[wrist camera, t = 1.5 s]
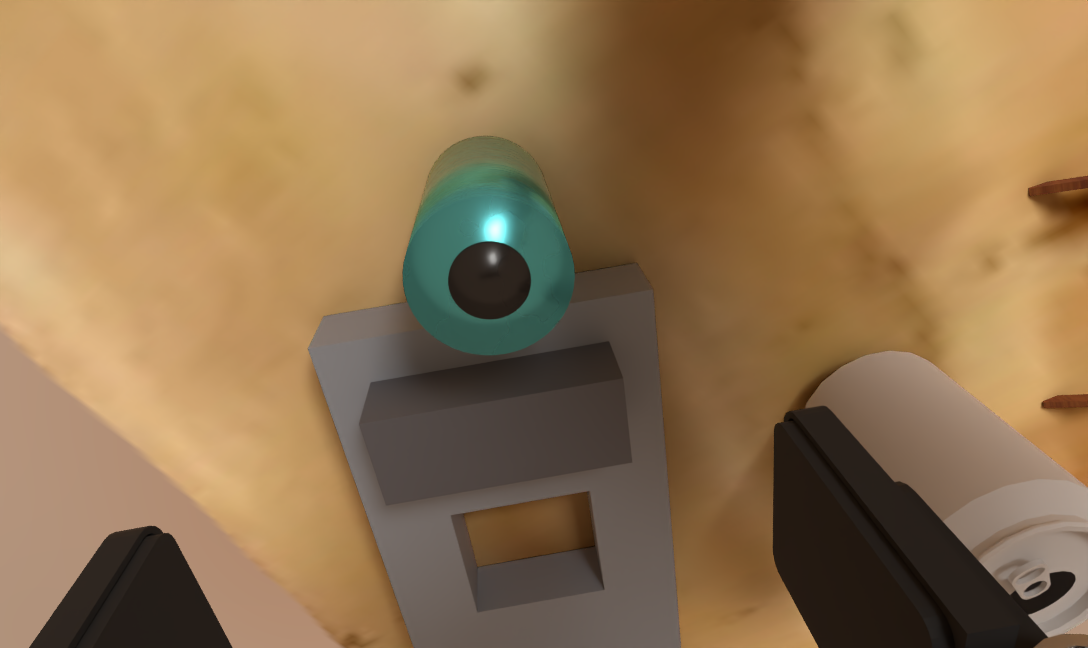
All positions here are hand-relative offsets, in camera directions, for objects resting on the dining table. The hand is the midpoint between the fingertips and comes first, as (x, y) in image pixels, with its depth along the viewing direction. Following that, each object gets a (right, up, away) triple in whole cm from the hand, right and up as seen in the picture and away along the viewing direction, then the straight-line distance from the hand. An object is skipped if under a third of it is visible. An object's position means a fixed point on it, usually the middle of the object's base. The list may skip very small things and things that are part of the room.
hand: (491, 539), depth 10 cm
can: (+17, -1, +24) cm, 29 cm away
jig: (0, -5, +24) cm, 24 cm away
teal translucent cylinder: (-2, +9, +17) cm, 19 cm away
